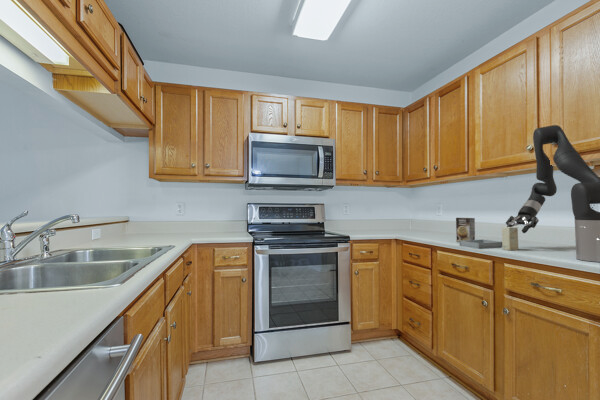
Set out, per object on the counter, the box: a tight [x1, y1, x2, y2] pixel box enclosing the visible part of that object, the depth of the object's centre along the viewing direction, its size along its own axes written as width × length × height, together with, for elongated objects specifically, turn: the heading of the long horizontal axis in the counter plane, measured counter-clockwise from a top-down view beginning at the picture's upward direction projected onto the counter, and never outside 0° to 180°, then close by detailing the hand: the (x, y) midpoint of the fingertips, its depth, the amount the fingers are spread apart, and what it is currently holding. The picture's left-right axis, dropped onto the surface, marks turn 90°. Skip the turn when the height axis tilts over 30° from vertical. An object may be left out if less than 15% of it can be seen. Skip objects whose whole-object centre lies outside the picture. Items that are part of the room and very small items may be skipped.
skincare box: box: [501, 226, 519, 251], centre depth 150 cm, size 6×4×12 cm
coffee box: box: [455, 217, 476, 243], centre depth 183 cm, size 9×6×16 cm
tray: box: [459, 239, 503, 250], centre depth 164 cm, size 13×18×3 cm
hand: (514, 231), depth 151 cm, fingers open, 8 cm apart
